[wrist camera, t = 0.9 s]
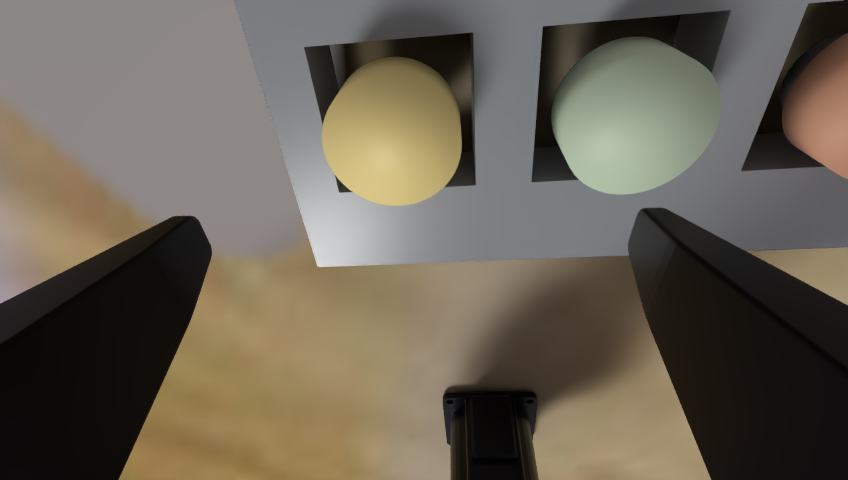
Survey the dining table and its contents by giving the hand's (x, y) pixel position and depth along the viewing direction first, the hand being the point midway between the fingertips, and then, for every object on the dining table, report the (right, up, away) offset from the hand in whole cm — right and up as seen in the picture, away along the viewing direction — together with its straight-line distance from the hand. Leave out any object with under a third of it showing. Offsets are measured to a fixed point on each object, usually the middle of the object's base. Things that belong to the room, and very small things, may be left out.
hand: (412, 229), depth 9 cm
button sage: (+7, +5, +7) cm, 11 cm away
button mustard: (-1, +5, +7) cm, 9 cm away
